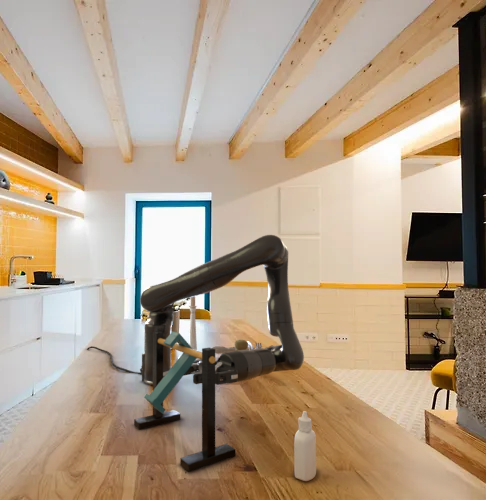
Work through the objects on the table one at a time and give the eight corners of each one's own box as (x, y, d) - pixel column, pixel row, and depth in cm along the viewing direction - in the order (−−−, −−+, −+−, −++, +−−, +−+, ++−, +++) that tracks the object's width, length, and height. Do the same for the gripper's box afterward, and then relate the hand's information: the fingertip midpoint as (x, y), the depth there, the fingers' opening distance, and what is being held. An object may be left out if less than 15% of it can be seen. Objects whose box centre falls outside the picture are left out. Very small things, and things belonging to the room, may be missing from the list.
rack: (174, 415, 101) (174, 329, 102) (235, 456, 80) (235, 347, 80) (134, 425, 95) (134, 333, 96) (188, 472, 73) (188, 353, 74)
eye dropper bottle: (286, 471, 74) (285, 409, 74) (309, 466, 76) (309, 405, 76) (301, 483, 70) (300, 418, 70) (325, 477, 72) (324, 414, 72)
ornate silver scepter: (205, 341, 158) (215, 337, 152) (273, 344, 172) (284, 340, 165) (207, 361, 155) (217, 358, 148) (276, 361, 168) (287, 358, 162)
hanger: (154, 407, 86) (194, 356, 92) (162, 413, 83) (203, 360, 89) (128, 381, 83) (171, 330, 89) (136, 386, 80) (180, 333, 86)
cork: (249, 371, 143) (249, 342, 143) (233, 370, 144) (233, 341, 145) (249, 366, 149) (249, 338, 149) (233, 366, 150) (233, 338, 151)
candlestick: (171, 361, 157) (171, 289, 158) (188, 355, 168) (188, 287, 169) (198, 365, 150) (198, 290, 151) (213, 359, 161) (213, 288, 162)
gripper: (222, 345, 103) (170, 353, 95) (259, 356, 91) (203, 366, 82) (222, 373, 103) (170, 383, 95) (259, 388, 91) (203, 401, 82)
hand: (185, 375), depth 89 cm, fingers open, 6 cm apart
